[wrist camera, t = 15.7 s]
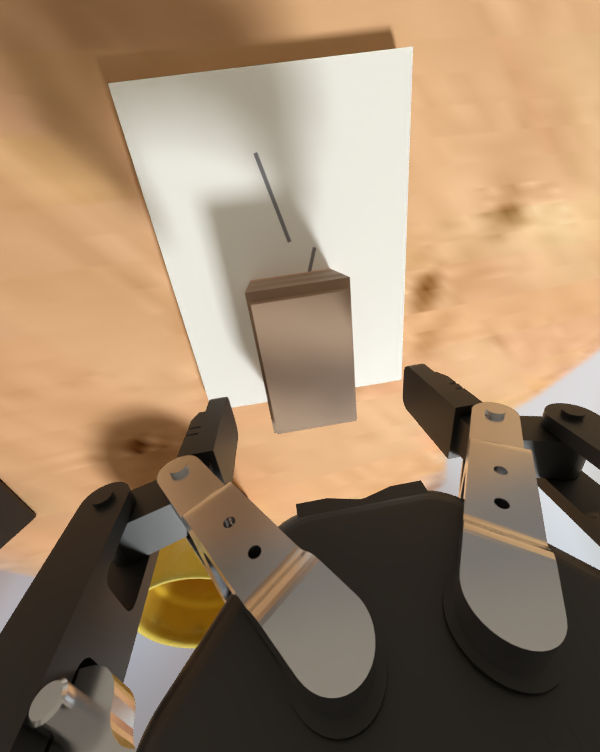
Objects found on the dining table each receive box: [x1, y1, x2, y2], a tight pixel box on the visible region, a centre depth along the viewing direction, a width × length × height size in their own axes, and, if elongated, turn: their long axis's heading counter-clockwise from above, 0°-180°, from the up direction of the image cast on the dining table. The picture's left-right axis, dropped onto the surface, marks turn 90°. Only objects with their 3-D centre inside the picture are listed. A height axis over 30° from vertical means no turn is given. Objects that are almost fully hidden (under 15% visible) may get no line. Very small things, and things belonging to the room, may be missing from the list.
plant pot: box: [137, 538, 225, 648], centre depth 26 cm, size 10×10×10 cm
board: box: [108, 47, 413, 408], centre depth 20 cm, size 20×16×2 cm
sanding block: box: [245, 269, 357, 434], centre depth 18 cm, size 9×6×6 cm, turn 8°
